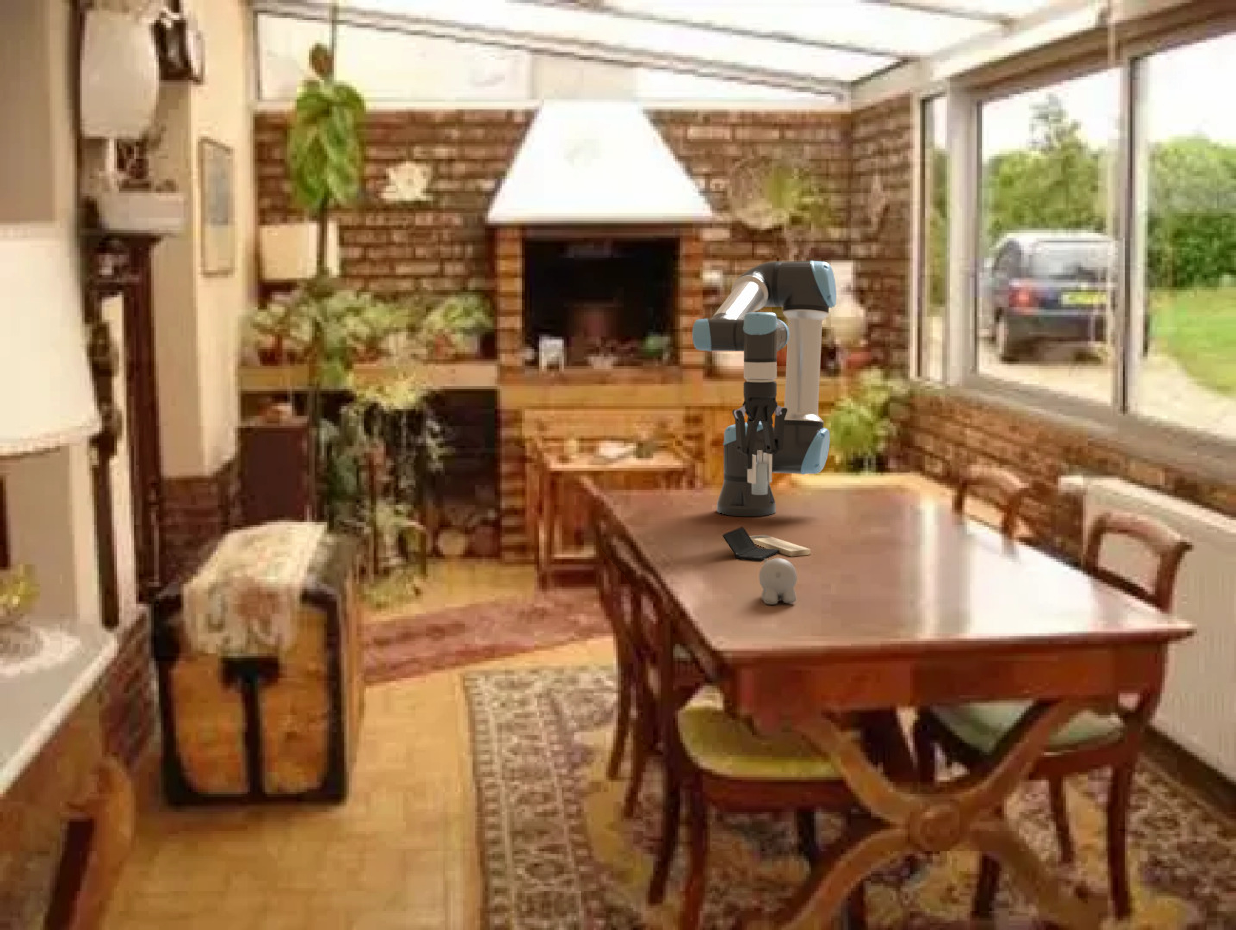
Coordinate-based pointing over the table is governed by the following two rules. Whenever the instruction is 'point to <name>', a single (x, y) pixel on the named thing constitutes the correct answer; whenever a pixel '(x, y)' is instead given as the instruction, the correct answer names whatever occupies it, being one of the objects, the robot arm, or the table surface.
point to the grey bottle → (760, 476)
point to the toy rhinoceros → (778, 581)
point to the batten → (780, 545)
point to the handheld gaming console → (746, 546)
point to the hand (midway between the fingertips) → (759, 482)
